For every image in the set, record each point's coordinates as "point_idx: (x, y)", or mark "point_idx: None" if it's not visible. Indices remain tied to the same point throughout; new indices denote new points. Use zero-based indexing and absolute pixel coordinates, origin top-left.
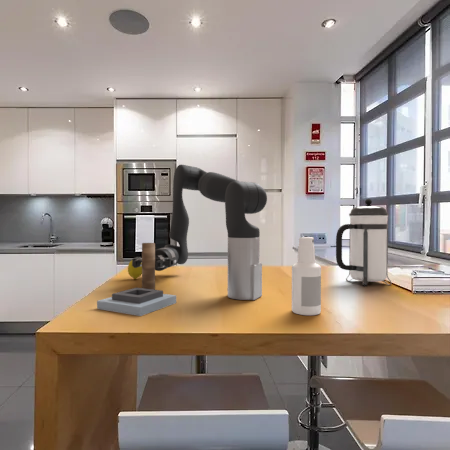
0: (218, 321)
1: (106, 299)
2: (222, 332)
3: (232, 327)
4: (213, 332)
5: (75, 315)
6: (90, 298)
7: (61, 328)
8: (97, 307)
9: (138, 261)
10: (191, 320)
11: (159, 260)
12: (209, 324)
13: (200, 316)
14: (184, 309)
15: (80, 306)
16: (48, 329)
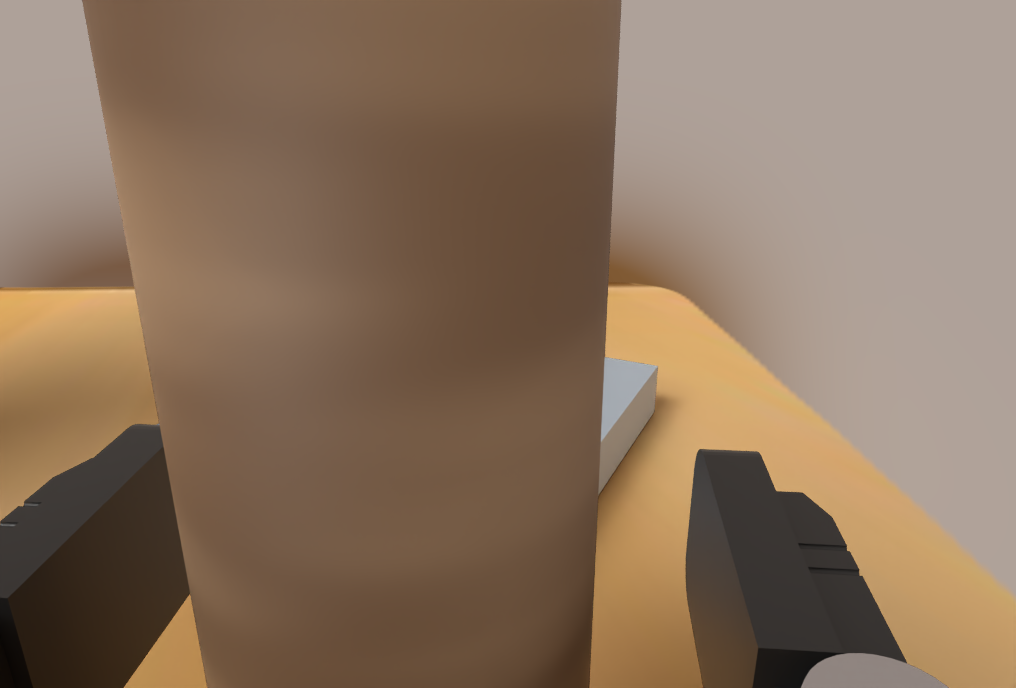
0: (27, 332)
1: (617, 380)
2: (76, 290)
3: (13, 307)
4: (106, 290)
5: (687, 357)
6: (963, 592)
7: (625, 297)
8: (652, 403)
9: (723, 580)
10: (139, 336)
11: (70, 500)
12: (83, 318)
13: (75, 360)
14: (114, 416)
15: (803, 438)
16: (662, 293)
